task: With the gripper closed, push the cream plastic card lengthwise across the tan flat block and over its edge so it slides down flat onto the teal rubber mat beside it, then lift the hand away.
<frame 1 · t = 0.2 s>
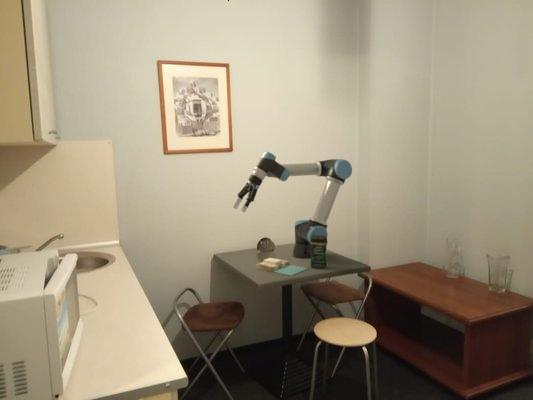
hand: (238, 209, 225), 35 cm above the table, tool tilted 35°, fingers open, 13 cm apart
card: (272, 262, 233), point 2 cm above the table, touching tan flat block
tan flat block: (272, 266, 233), on the table
mat: (290, 270, 225), on the table
coffee jar: (319, 267, 231), on the table
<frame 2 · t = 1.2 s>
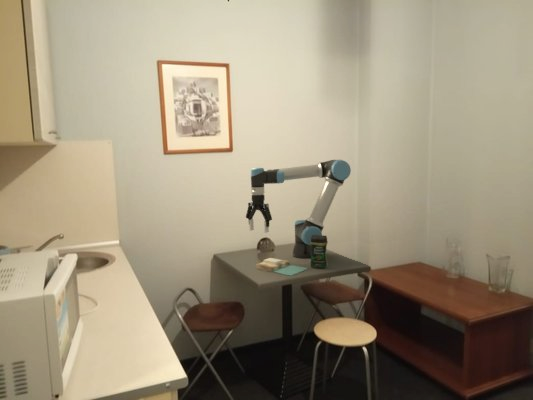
hand: (259, 231, 237), 20 cm above the table, tool pointing down, fingers open, 11 cm apart
nothing on the table moved.
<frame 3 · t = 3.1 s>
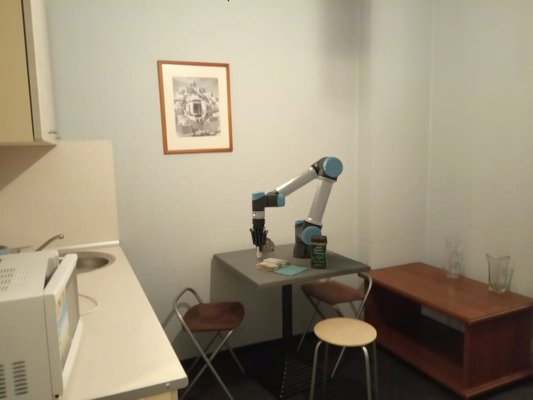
hand: (259, 256, 239), 4 cm above the table, tool pointing down, fingers closed
nothing on the table moved.
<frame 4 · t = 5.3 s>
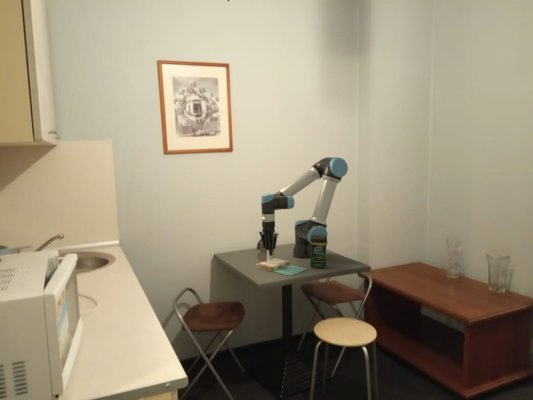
hand: (269, 260, 235), 3 cm above the table, tool pointing down, fingers closed
card: (276, 263, 231), point 3 cm above the table, touching tan flat block
everything else where it was.
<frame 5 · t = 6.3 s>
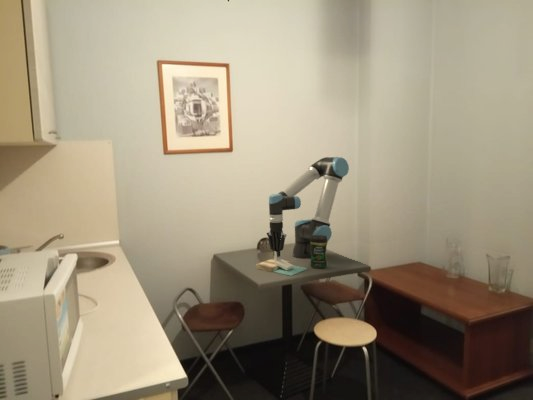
hand: (277, 262, 231), 3 cm above the table, tool pointing down, fingers closed
card: (283, 266, 228), point 2 cm above the table, tilted 14°
everything else where it was.
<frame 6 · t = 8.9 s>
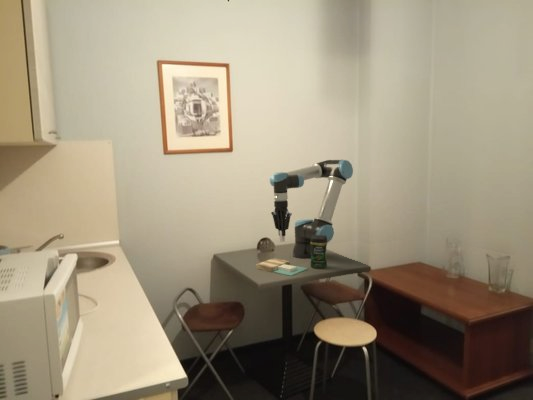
hand: (282, 241, 227), 16 cm above the table, tool pointing down, fingers closed
card: (287, 269, 226), resting on mat
everything else where it was.
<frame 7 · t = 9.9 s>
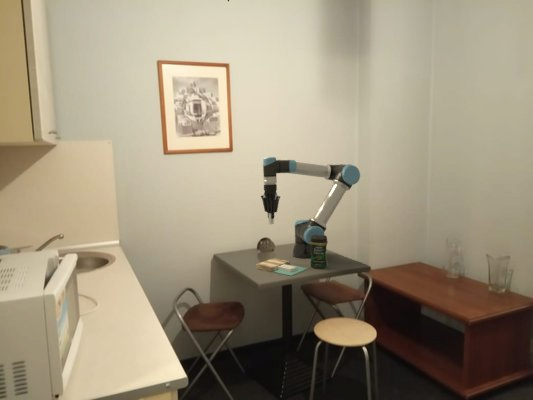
hand: (271, 223, 236), 24 cm above the table, tool pointing down, fingers closed
nothing on the table moved.
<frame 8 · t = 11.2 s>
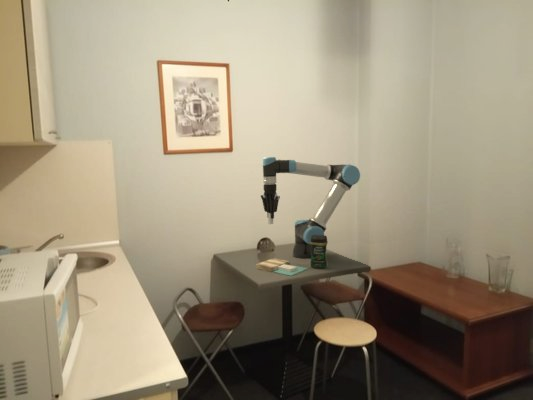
hand: (270, 223, 236), 24 cm above the table, tool pointing down, fingers closed
nothing on the table moved.
at the end: card resting on mat; card inside the target area on the mat (2.0 cm from its centre), point 0.4 cm above the mat's base; card tilted 0° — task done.
